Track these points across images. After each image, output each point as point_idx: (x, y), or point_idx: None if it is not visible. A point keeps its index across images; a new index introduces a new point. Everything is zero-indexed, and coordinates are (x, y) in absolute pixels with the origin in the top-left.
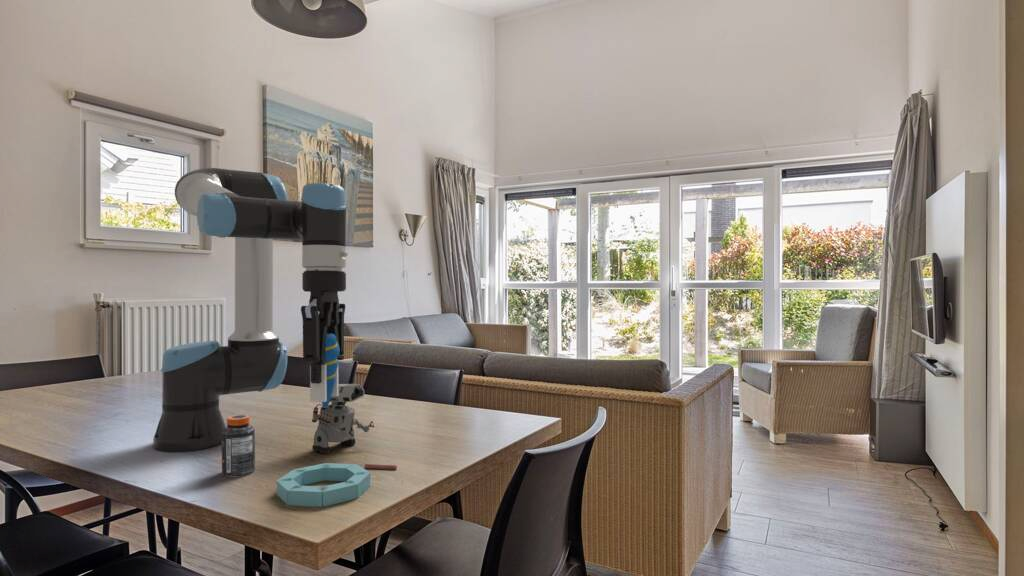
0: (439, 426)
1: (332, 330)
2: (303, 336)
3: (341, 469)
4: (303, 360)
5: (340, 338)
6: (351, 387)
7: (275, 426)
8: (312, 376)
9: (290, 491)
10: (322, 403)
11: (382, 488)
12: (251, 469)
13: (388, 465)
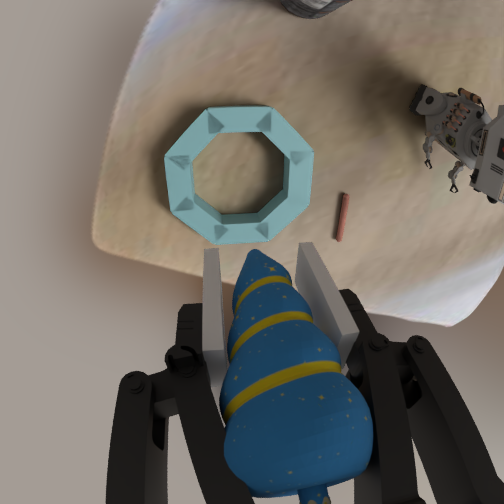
0: (484, 233)
1: (359, 489)
2: (108, 490)
3: (287, 187)
4: (121, 380)
5: (410, 428)
6: (495, 193)
7: (497, 21)
8: (179, 329)
9: (164, 160)
10: (248, 255)
11: (258, 249)
12: (304, 16)
13: (340, 231)
